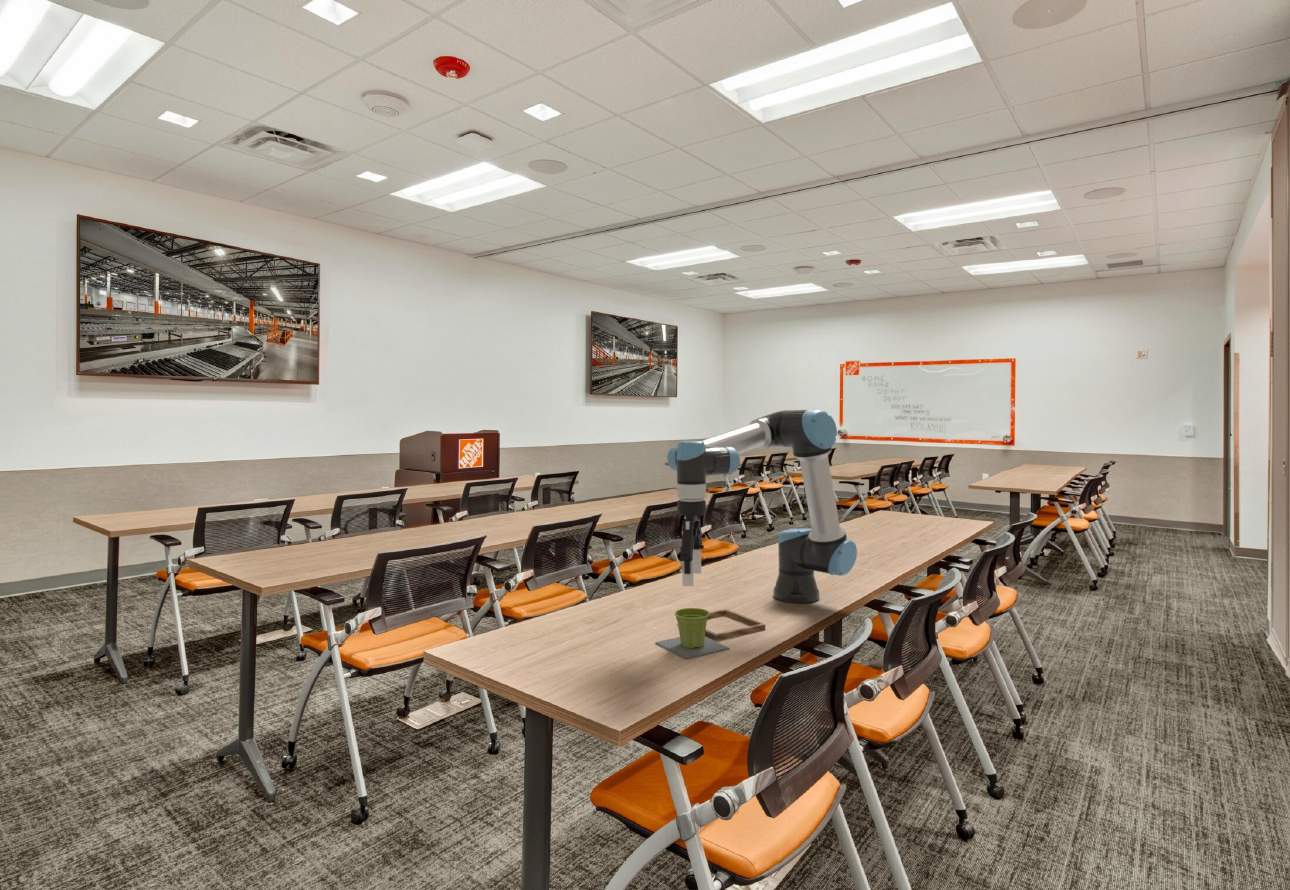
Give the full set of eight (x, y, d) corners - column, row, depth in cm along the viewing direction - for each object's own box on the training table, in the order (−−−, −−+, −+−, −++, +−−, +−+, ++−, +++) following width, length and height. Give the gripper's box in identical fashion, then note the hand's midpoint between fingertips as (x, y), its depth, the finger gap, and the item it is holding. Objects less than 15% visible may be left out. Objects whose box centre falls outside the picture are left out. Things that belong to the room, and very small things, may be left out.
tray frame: (725, 613, 202) (725, 608, 202) (765, 629, 187) (765, 624, 187) (678, 623, 193) (678, 618, 192) (715, 640, 177) (715, 635, 177)
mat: (697, 634, 183) (697, 632, 183) (729, 649, 171) (729, 647, 171) (655, 643, 175) (655, 642, 175) (685, 659, 163) (685, 658, 163)
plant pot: (668, 647, 171) (668, 614, 171) (683, 636, 179) (683, 605, 179) (701, 653, 167) (701, 619, 166) (715, 642, 175) (715, 610, 175)
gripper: (685, 493, 185) (686, 567, 185) (668, 505, 160) (669, 590, 161) (711, 494, 183) (712, 568, 184) (698, 506, 159) (699, 592, 160)
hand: (692, 579), depth 173 cm, fingers open, 13 cm apart
